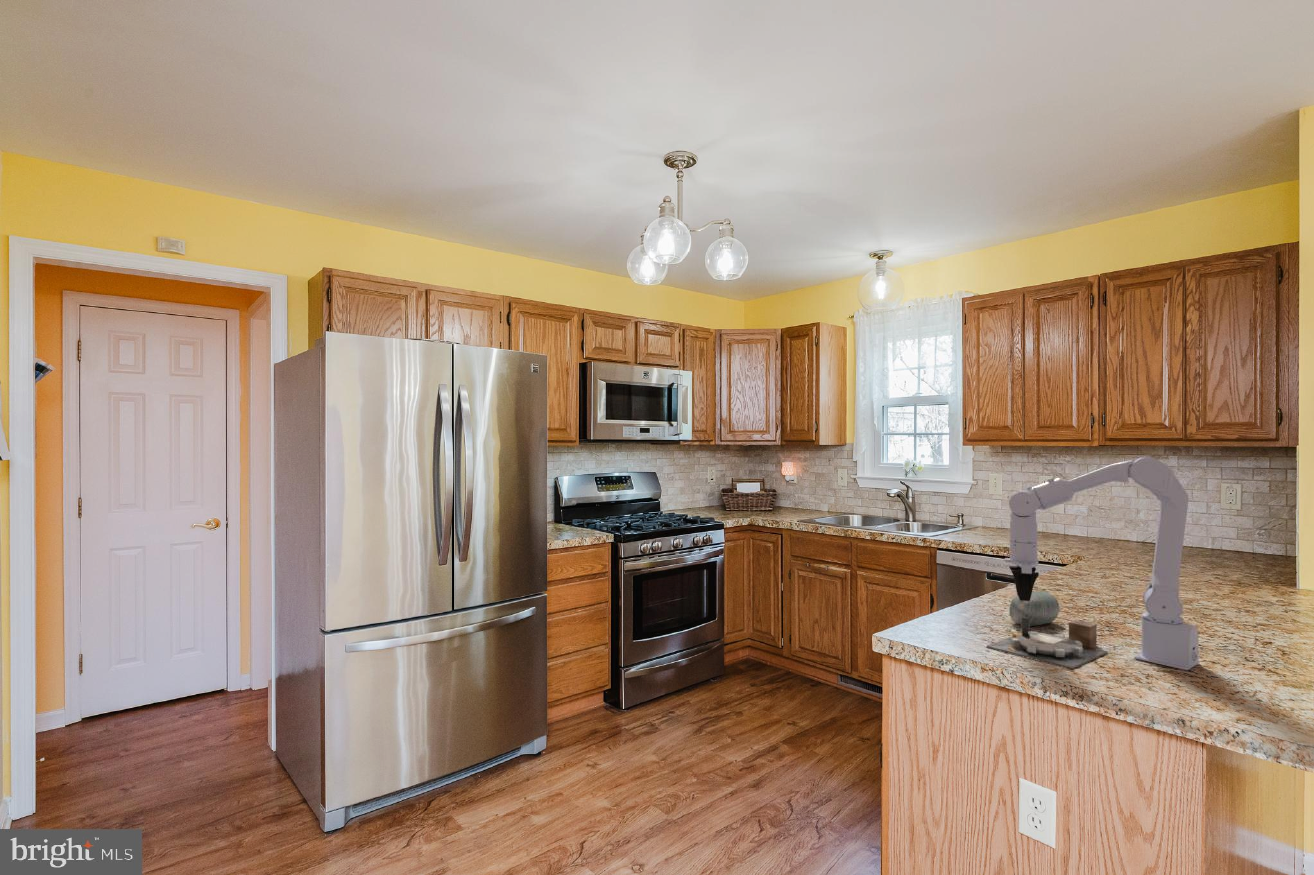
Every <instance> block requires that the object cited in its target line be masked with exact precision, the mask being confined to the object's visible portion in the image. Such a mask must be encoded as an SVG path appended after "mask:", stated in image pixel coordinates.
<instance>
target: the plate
mask: <svg viewBox="0 0 1314 875" xmlns="http://www.w3.org/2000/svg"><path fill="white" fill-rule="evenodd" d="M1011 638H1012V636H1010V637H1008V638H1004V639H1001V640H999V641H996V642H994V643H990V644H988V645H986V648H988V649H991V650H994V651H999V650H1001V651H1000V652H1003V651H1004V653H1006V652H1009V653H1008V654H1010V653H1012V654H1011V655H1014V654H1017V655H1016V656H1018V655H1020V656H1019V657H1022V656H1024V657H1023V658H1026V657H1029V658H1028V659H1030V658H1032V659H1031V660H1034V659H1037V660H1036V661H1038V660H1039V661H1038V662H1042V661H1044V662H1043V663H1045V662H1047V663H1046V664H1049V663H1052V664H1051V665H1053V664H1055V666H1057V665H1059V666H1058V667H1061V666H1063V667H1062V668H1065V667H1066V669H1069V668H1070V669H1069V670H1075V669H1076V668H1078V667H1081V666H1083V665H1085V664H1087V663H1089V661H1090V662H1091V661H1094V660H1096V659H1098V658H1100V657H1102V656H1104V655H1107V654H1108V653H1109V652H1108V650H1105V649H1104V650H1103V649H1099V648H1095V647H1092V648H1091V647H1086V646H1082V648H1083V654H1082V655H1080V656H1078V655H1069V656H1065V657H1056V656H1054V655H1046V654H1040V653H1036V654H1035V653H1031V652H1027V650H1025V649H1023V648H1021V647H1017V646H1013V645H1012V644H1011Z"/></svg>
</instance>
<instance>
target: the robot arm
mask: <svg viewBox="0 0 1314 875" xmlns="http://www.w3.org/2000/svg"><path fill="white" fill-rule="evenodd" d="M1129 478H1131V480H1133V482H1134V483H1135V484H1136V485H1138V486H1141V487H1142V488H1144V489H1146V490H1149V492H1151V493H1152V495H1154V496H1155V497H1156V498H1157V499H1158V500H1159V501H1160V504H1159V505H1160V506H1159V514H1158V522H1157V531H1156V540H1155V546H1154V547H1155V548H1154V555H1153V563H1152V572H1151V575H1150V580H1149V581H1150V582H1149V585H1148V586H1147V588H1146V589H1145V590H1144V592H1143V595H1142V600H1143V602H1144V604H1145V606H1144V607H1145V609H1146V611H1145V612H1143V613H1141V652H1140V653H1138V654H1135V655H1134V659H1136V660H1140V661H1144V662H1149V663H1153V664H1156V665H1157V664H1158V665H1162V666H1167V667H1171V668H1175V669H1180V670H1183V671H1184V670H1185V671H1189V670H1190V669H1192V668H1194V667H1196V666H1197V665H1199V664H1200V661H1199V630H1198V628H1197V626H1196V625H1194V624H1190V623H1189V624H1188V623H1186V622H1185V621H1184V617H1182V614H1183V612H1184V611H1183V610H1184V609H1183V608H1184V607H1183V603H1182V602H1181V599H1180V596H1179V595H1180V573H1181V572H1180V571H1181V563H1182V557H1183V550H1184V549H1183V546H1184V540H1185V532H1186V525H1187V524H1186V522H1187V516H1188V515H1187V514H1188V507H1189V506H1188V505H1189V494H1188V493H1187V491H1186V489H1185V488H1184V487H1183V485H1182V483H1181V482H1180V480H1179V479H1178V477H1176V475H1175V473H1174V472H1173V470H1172V469H1171V468H1170V467H1168V466H1167V465H1166V464H1164V463H1163V462H1162V461H1160V460H1159V459H1157V458H1153V457H1151V456H1150V457H1149V456H1140V457H1138V458H1136V459H1134V460H1132V459H1131V460H1126V461H1120V462H1116V463H1112V464H1108V465H1106V466H1104V467H1102V468H1099V469H1096V470H1093V471H1091V472H1087V473H1086V474H1083V475H1080V476H1077V477H1075V478H1072V479H1069V480H1067V479H1064V478H1061V477H1057V478H1055V477H1050V478H1047V479H1046V480H1047V481H1046V482H1043V483H1041V484H1040V483H1039V484H1038V485H1035V486H1032V485H1030V486H1027V487H1026V490H1027V491H1026V490H1020V491H1017V492H1016V493H1014V494H1012V496H1011V497H1010V498H1009V501H1008V505H1009V506H1008V507H1009V509H1010V511H1011V512H1010V515H1009V516H1010V522H1009V540H1010V541H1009V558H1008V557H1005V558H1004V562H1005V563H1010V564H1012V565H1009V566H1008V568H1009V570H1010V571H1011V574H1012V576H1013V579H1014V584H1015V590H1016V595H1018V596H1019V599H1020V600H1021V601H1030V599H1031V595H1032V591H1034V590H1033V588H1034V585H1035V582H1036V580H1037V579H1038V577H1039V575H1040V573H1039V572H1036V570H1037V567H1036V566H1038V565H1039V560H1038V522H1037V512H1036V511H1037V510H1040V511H1043V510H1047V509H1050V508H1053V507H1055V506H1059V505H1062V504H1065V503H1068V502H1070V501H1073V500H1072V499H1073V498H1074V496H1075V494H1076V493H1079V492H1082V491H1083V492H1084V491H1086V490H1089V489H1092V488H1095V487H1097V486H1098V487H1099V486H1100V485H1105V484H1108V483H1111V482H1117V483H1118V482H1119V483H1130V482H1129V481H1130V480H1129Z"/></svg>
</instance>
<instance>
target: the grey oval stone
mask: <svg viewBox="0 0 1314 875" xmlns="http://www.w3.org/2000/svg"><path fill="white" fill-rule="evenodd" d="M1059 604H1060V603H1059V601H1058V599H1057V598H1056V597H1055V595H1053V594H1051V593H1049V592H1045V591H1038V590H1037V591H1036V590H1032V595H1031V599H1030V601H1021V600H1020V599H1019V596H1018V595H1017V594H1016V595H1015V596H1014V597H1013V598H1011V601H1010V604H1009V616H1010V618H1011V620H1012V622H1014V623H1015V624H1017V625H1019V626H1022V617H1027V618H1030V627H1034V626H1035V627H1036V626H1042V625H1046V624H1049V623H1051V622H1053V621H1055V620H1056V619H1057V618H1058V616H1059V613H1060V605H1059Z"/></svg>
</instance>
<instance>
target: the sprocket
mask: <svg viewBox="0 0 1314 875" xmlns="http://www.w3.org/2000/svg"><path fill="white" fill-rule="evenodd" d="M1030 628H1031V626H1030V618H1027V617H1022V625H1021V633H1020V632H1013V633H1012V636H1011V637H1012V638H1011V644H1012V645H1013V646H1017V647H1021V648H1023V649H1025V650H1027V652H1031V653H1035V654H1036V653H1040V654H1046V655H1054V656H1056V657H1065V656H1069V655H1078V656H1080V655H1082V654H1083V648H1082V643H1081V642H1079V641H1073V640H1071V639H1069V637H1066V636H1065V635H1061V634H1058V633H1055V634H1052V633H1047V632H1046V633H1044V632H1038V631H1032V630H1031V629H1030ZM1030 630H1031V631H1030Z"/></svg>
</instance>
